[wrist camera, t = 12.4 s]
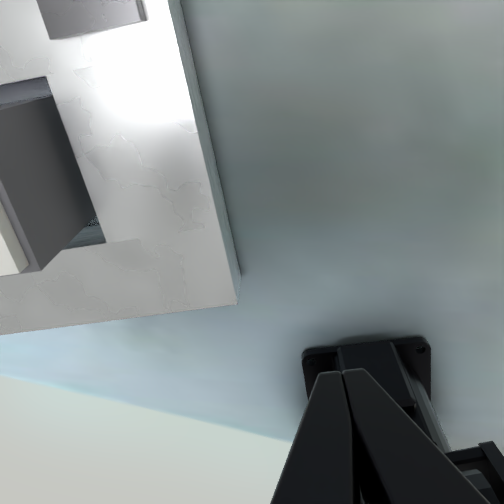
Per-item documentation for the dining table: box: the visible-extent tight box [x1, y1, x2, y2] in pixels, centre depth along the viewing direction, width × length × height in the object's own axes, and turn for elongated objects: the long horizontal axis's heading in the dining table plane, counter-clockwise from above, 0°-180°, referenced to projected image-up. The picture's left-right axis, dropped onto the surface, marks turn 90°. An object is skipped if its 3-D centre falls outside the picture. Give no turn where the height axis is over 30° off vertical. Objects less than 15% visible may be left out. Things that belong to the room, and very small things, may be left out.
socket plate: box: [0, 0, 241, 335], centre depth 17 cm, size 14×13×3 cm
